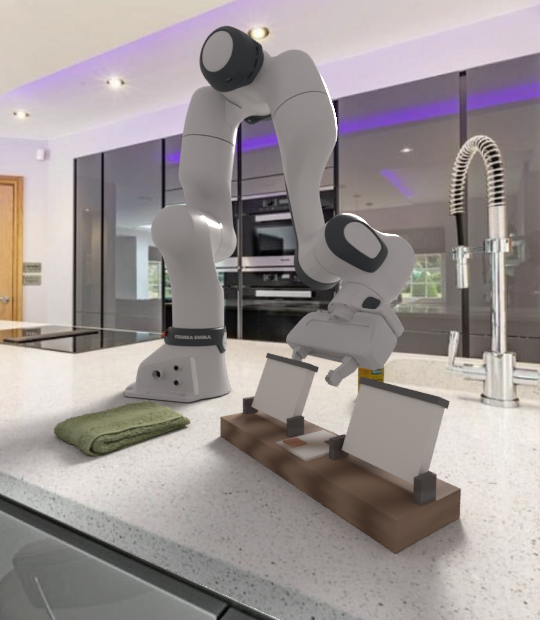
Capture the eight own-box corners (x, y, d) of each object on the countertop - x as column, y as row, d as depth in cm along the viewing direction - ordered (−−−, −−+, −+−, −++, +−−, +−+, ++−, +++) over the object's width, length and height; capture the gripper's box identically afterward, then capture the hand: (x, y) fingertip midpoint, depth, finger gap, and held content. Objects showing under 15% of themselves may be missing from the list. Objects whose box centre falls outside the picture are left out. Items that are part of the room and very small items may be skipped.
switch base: (220, 435, 63) (220, 401, 62) (273, 423, 68) (273, 392, 68) (395, 553, 35) (397, 493, 35) (459, 517, 41) (461, 465, 41)
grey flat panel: (339, 448, 47) (360, 376, 49) (350, 451, 48) (370, 380, 50) (415, 485, 39) (439, 396, 40) (427, 488, 40) (449, 401, 41)
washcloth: (194, 428, 67) (194, 409, 67) (90, 463, 54) (90, 439, 53) (149, 412, 76) (148, 395, 75) (48, 439, 62) (48, 418, 62)
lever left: (249, 405, 64) (267, 352, 65) (259, 408, 65) (276, 356, 66) (289, 425, 55) (308, 363, 57) (300, 427, 56) (318, 367, 58)
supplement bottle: (369, 392, 89) (370, 348, 89) (389, 397, 85) (390, 352, 84) (352, 395, 86) (352, 350, 86) (371, 401, 82) (372, 354, 81)
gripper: (305, 298, 76) (261, 354, 71) (395, 302, 59) (345, 377, 54) (323, 320, 78) (281, 376, 74) (413, 331, 62) (367, 405, 57)
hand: (309, 377), depth 64 cm, fingers open, 8 cm apart
